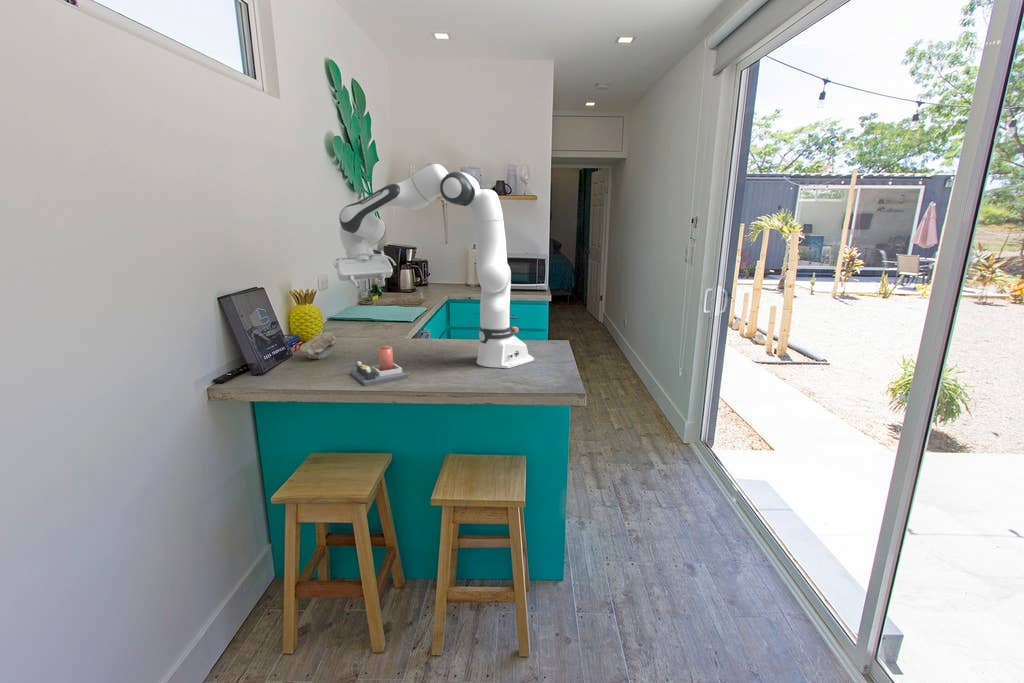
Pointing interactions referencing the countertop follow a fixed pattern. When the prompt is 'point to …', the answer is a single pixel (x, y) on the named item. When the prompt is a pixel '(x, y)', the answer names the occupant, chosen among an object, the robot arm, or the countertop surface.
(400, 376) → the panel
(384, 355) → the cap
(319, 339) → the stone
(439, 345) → the countertop surface
